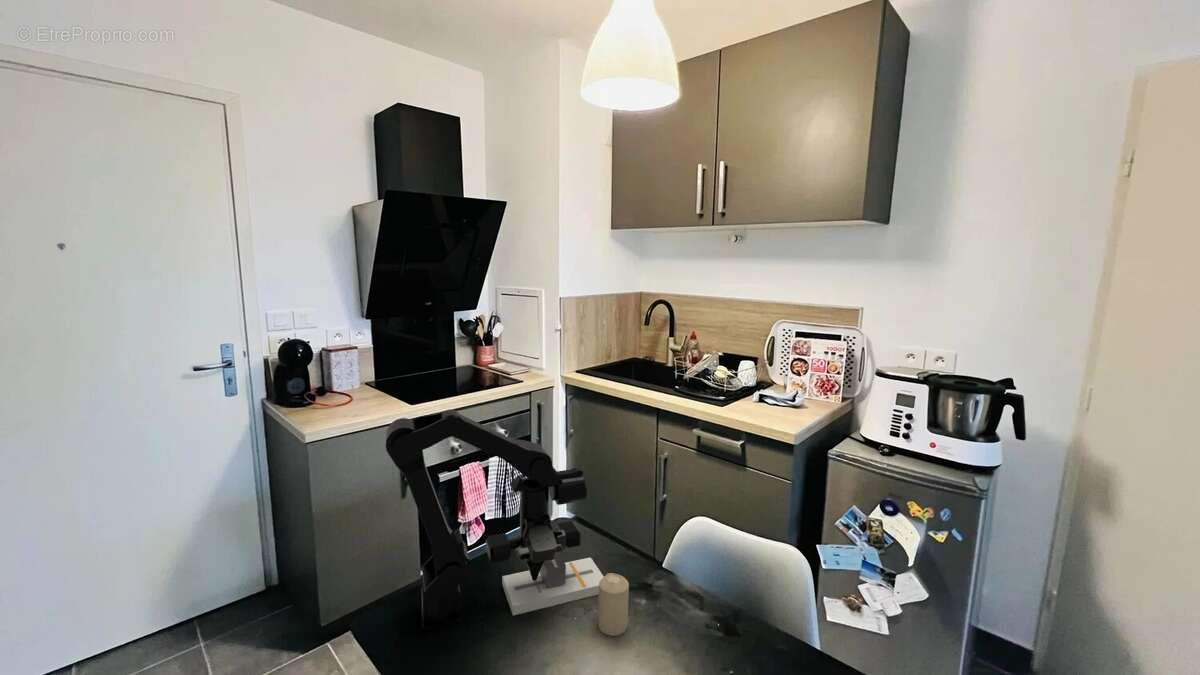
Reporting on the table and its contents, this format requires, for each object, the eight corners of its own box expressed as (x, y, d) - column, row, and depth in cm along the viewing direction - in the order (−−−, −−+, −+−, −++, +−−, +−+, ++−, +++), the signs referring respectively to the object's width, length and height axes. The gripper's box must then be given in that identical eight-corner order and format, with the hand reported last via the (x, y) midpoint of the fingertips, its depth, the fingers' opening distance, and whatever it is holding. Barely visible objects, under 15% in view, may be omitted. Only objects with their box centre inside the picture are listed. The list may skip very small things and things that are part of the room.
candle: (630, 619, 94) (632, 571, 93) (622, 639, 89) (624, 588, 88) (603, 612, 96) (604, 565, 95) (594, 631, 91) (595, 581, 90)
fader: (546, 587, 99) (546, 568, 99) (540, 573, 104) (540, 555, 104) (565, 583, 101) (565, 564, 100) (558, 569, 106) (558, 551, 105)
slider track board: (512, 615, 95) (512, 605, 94) (502, 585, 104) (502, 575, 103) (607, 592, 102) (608, 582, 102) (590, 565, 111) (590, 556, 111)
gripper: (495, 535, 88) (495, 615, 90) (592, 518, 95) (590, 592, 97) (485, 508, 98) (485, 580, 100) (573, 494, 105) (572, 561, 107)
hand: (534, 579), depth 101 cm, fingers closed
